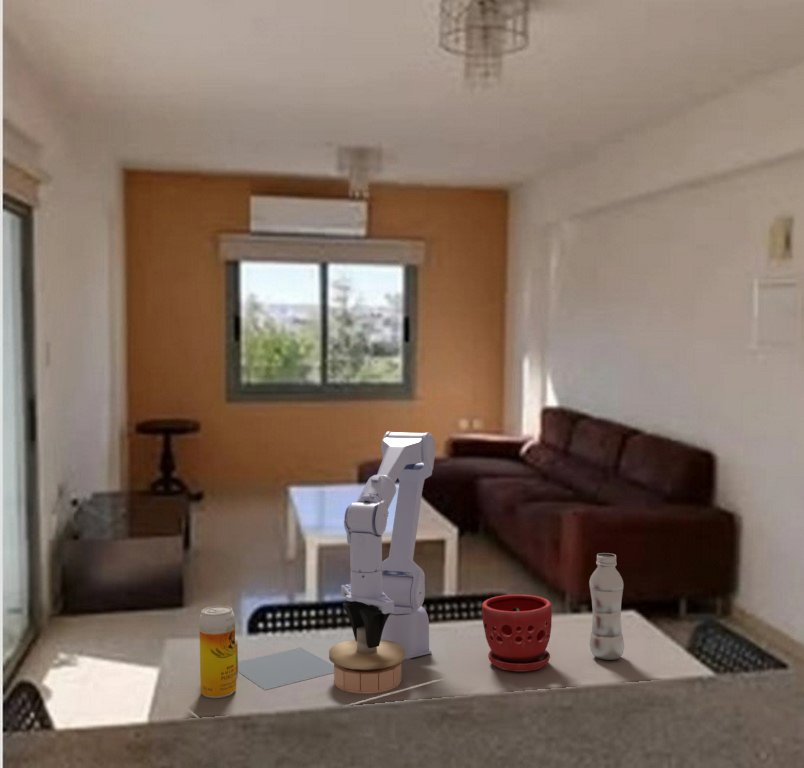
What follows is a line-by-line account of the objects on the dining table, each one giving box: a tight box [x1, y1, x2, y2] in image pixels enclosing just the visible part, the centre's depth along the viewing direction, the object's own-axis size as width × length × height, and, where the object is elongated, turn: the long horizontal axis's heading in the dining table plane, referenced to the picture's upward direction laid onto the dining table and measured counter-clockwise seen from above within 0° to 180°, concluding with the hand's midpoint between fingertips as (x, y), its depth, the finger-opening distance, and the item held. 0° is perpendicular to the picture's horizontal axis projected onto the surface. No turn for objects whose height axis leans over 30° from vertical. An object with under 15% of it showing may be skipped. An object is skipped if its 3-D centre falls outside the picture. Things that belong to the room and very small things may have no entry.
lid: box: [328, 626, 405, 670], centre depth 163 cm, size 14×14×5 cm
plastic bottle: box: [588, 552, 625, 661], centre depth 175 cm, size 6×7×20 cm
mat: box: [238, 647, 334, 691], centre depth 171 cm, size 16×16×1 cm
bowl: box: [333, 661, 402, 694], centre depth 164 cm, size 12×12×4 cm
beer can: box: [198, 605, 237, 699], centre depth 159 cm, size 6×6×15 cm
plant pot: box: [481, 594, 553, 672], centre depth 172 cm, size 13×13×12 cm
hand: (367, 643), depth 163 cm, fingers closed on lid, 3 cm apart
